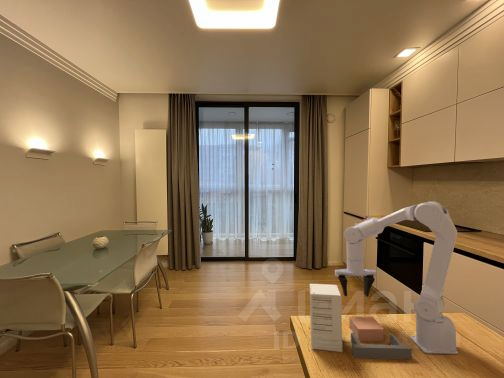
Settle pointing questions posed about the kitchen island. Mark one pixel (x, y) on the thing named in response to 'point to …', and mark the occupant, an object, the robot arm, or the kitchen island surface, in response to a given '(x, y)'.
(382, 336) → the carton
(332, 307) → the supplement box
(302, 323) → the kitchen island surface
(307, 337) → the kitchen island surface
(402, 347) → the grey tray
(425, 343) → the robot arm
